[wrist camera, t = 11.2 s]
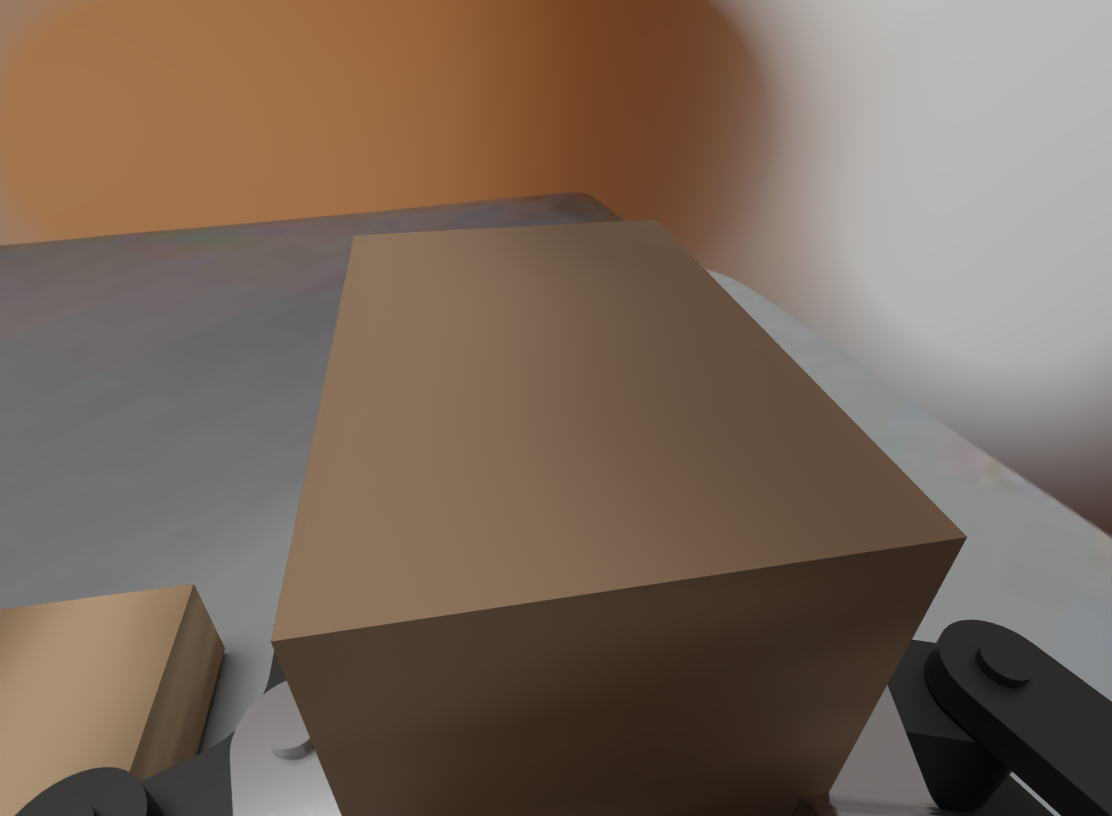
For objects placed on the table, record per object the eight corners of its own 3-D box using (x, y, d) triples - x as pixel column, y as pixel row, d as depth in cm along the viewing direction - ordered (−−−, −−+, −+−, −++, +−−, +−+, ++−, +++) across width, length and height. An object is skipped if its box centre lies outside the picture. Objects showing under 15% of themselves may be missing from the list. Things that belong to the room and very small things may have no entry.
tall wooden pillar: (453, 1089, 9) (272, 642, 3) (438, 709, 14) (354, 235, 8) (705, 1021, 10) (967, 536, 4) (609, 680, 15) (655, 219, 9)
